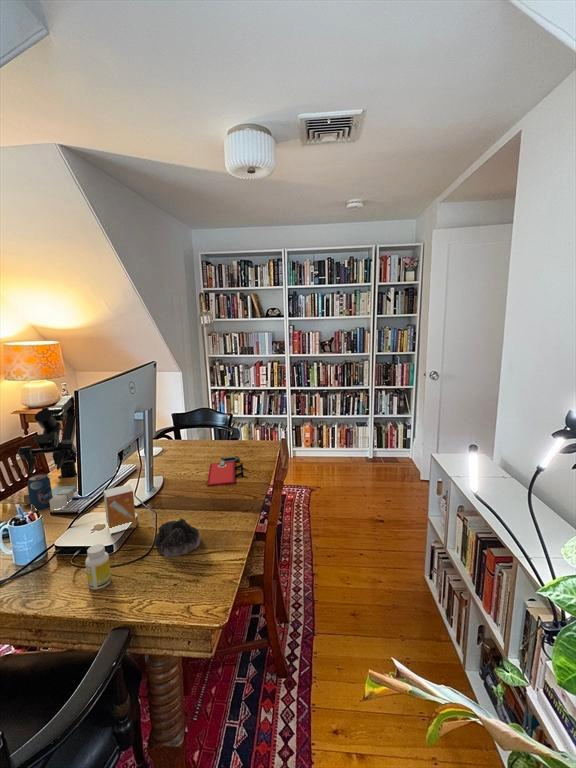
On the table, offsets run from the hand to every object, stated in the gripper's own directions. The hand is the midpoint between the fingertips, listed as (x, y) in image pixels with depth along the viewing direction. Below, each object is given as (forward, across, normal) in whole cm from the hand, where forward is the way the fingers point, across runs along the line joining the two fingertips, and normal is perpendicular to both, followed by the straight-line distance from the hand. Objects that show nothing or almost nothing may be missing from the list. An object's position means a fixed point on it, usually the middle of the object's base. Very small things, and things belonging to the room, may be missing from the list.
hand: (44, 471), depth 141 cm
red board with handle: (+3, +69, +15) cm, 70 cm away
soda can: (+13, 0, +5) cm, 13 cm away
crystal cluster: (+41, +50, -23) cm, 69 cm away
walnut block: (+8, -5, +9) cm, 13 cm away
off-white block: (+14, +6, +3) cm, 16 cm away
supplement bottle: (+49, +31, -31) cm, 66 cm away
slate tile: (+5, +3, +12) cm, 13 cm away
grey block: (+10, +7, +6) cm, 14 cm away
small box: (+29, +32, -12) cm, 45 cm away
